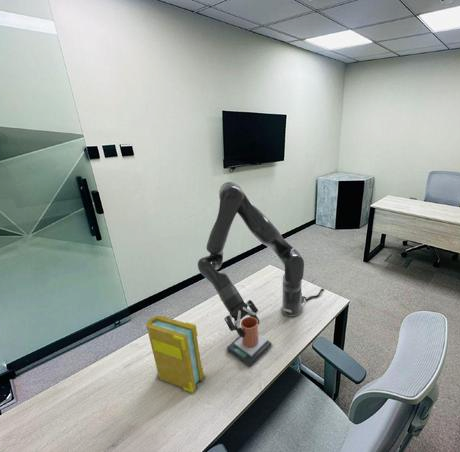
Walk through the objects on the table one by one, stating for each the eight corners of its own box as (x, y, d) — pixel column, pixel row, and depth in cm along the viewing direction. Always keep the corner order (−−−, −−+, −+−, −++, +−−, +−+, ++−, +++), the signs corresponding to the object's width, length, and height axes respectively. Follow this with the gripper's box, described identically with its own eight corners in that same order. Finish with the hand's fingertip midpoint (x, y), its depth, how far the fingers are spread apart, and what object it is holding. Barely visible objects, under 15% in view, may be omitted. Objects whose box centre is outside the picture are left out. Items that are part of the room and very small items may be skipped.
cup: (250, 332, 117) (249, 314, 113) (262, 340, 113) (261, 321, 109) (239, 342, 112) (237, 323, 108) (250, 350, 108) (249, 331, 104)
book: (204, 376, 100) (195, 324, 90) (192, 393, 94) (182, 339, 85) (167, 363, 105) (156, 313, 96) (154, 378, 99) (141, 326, 90)
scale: (249, 332, 121) (249, 326, 120) (271, 345, 114) (271, 340, 113) (227, 350, 111) (226, 344, 110) (249, 366, 104) (249, 361, 103)
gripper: (220, 302, 104) (242, 338, 102) (246, 285, 114) (267, 318, 112) (213, 308, 109) (234, 342, 107) (238, 291, 119) (258, 322, 117)
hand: (251, 330), depth 109 cm, fingers open, 8 cm apart
